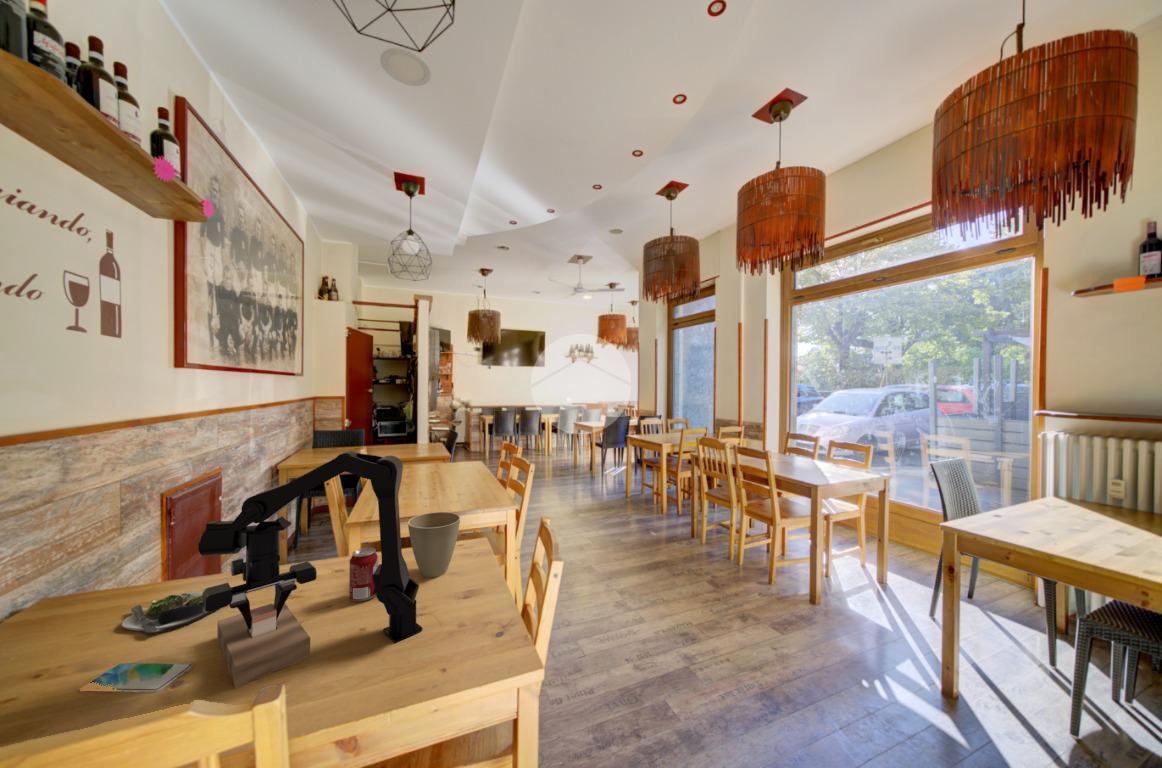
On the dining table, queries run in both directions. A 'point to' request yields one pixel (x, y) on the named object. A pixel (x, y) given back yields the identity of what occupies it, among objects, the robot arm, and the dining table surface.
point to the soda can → (362, 574)
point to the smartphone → (141, 676)
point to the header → (261, 647)
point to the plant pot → (433, 541)
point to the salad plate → (168, 613)
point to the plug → (263, 620)
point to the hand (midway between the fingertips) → (262, 624)
